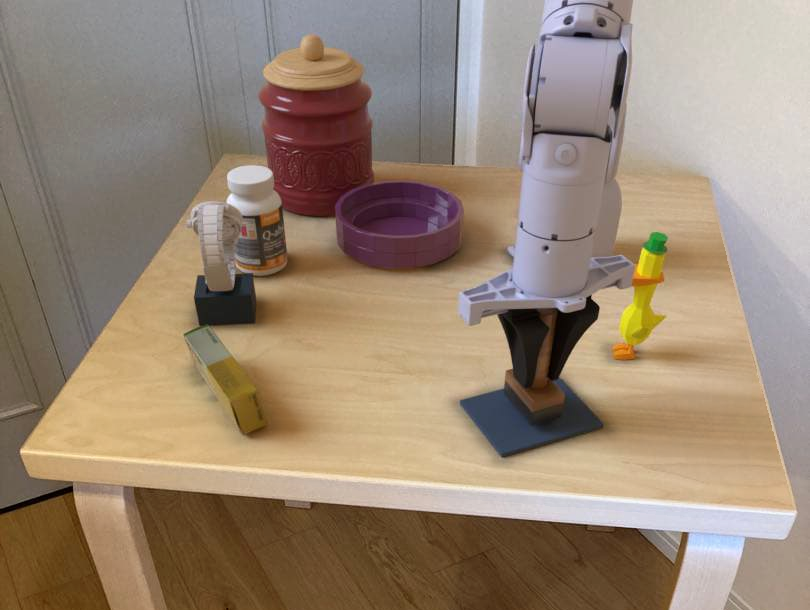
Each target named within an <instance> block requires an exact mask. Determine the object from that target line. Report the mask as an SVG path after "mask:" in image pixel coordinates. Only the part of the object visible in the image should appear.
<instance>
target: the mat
mask: <svg viewBox="0 0 810 610" xmlns="http://www.w3.org/2000/svg"><path fill="white" fill-rule="evenodd" d="M553 382H554V383H555V384H556V385H557V386H558V387H559V388H560V389H561V390H562V391H563V392H564V393H565V398H564V403H563V409H562V415H561V418H557V419H554V420H550V421H547V422H543V423H539V424H536V425H532V426H531V425H530V424H529V423H528V422H527V421H526V420H525V418H524V417H523V416H522V415H521V414H520V412H519V411H518V410H517V409H516V408H515V407H514V405H513V404H512V403H511V402H510V401H509V400H508V398H507V397H506V396H505V395H504V388H501V389H497V390H493V391H489V392H485V393H482V394H478V395H473V396H470V397H467V398H463V399H460V400H459V405H460V406H461V407H462V409H463V410H464V411H465V412H466V414H467V415H468V416H469V417H470V419H471V420H472V421H473V423H474V424H475V425H476V426H477V428H478V429H479V430H480V432H481V433H482V434H483V435H484V437H485V438H486V440H487V441H488V442H489V443H490V444H491V446H492V447H493V448H494V449H495V451H496V452H497V453H498V455H499V456H500V457H501V458H504V457H507V456H511V455H514V454H518V453H521V452H524V451H528V450H531V449H534V448H535V449H536V448H539V447H541V446H545V445H548V444H553V443H555V442H559V441H562V440H566V439H569V438H572V437H575V436H576V437H577V436H580V435H582V434H586V433H589V432H592V431H595V430H599V429H603V428H604V426H605V424H604V422H603V421H602V420H601V419H600V418H599V417H598V416H597V415H596V414H595V413H594V412H593V410H591V409H590V408H589V406H588V405H587V404H586V403H585V402H584V401H583V400H582V399H581V398H580V397H579V396H578V395H577V394H576V392H574V391H573V389H571V387H569V386H568V384H567V383H566V382H565V381H564V380H563V379H562V378H561V377H560V376H559V378H558V380H554V381H553Z"/></svg>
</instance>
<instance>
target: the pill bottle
mask: <svg viewBox="0 0 810 610" xmlns="http://www.w3.org/2000/svg"><path fill="white" fill-rule="evenodd" d="M226 180H227V187H228V189H229V191H230V192H231V193H230V194H229V196H228V197H227V199H226V202H225V203H228V204H230V205H232V206H234V207H235V208H237V209H238V210H239V211H240V212H241V214H242V219H243V221H242V230H241V232H240V235H239V239H238V244H237V245H234V251H235V267H236V268H237V269H238V270H239V271H240V272H241V273H253V276H256V277H257V276H259V277H262V276H269V275H273V274H276V273H278V272H280V271H282V270H283V269H285V267H286V265H287V264H288V249H287V240H286V239H287V237H286V231H285V220H284V219H285V218H284V208H282V202H281V198H280V196H279V195H278V193H277V192H276V191H274V190H273V188H274V177H273V172H272V171H271V170H270V169H269V168H268V167H266V166H263V165H259V164H258V165H257V164H256V165H255V164H250V165H249V164H248V165H241V166H238V167H235V168H233V169H231V170H229V172H228V173H227V175H226Z"/></svg>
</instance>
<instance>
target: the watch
mask: <svg viewBox="0 0 810 610" xmlns="http://www.w3.org/2000/svg"><path fill="white" fill-rule="evenodd" d="M242 221H243V219H242V214H241V212H240V211H239V210H238V209H237V208H235V207H234V206H232V205H230V204H228V203H226V202H224V201H217V200H209V201H204V202H201V203H199V204H197V205H195V206H194V207H193V208H192V210H191V211H190V219H186V228H187V229H192V230H193V232H194V233H195V235H197V236H198V238H199V247H200V252H201V253H200V254H201V259H202V267H201V268H202V272H203V274H197V275H196V282H195V288H194V294H193V301H194V305H195V310H196V315H197V320H198V327H200V326H203V325H206V324H208V325H209V326H224V325H226V326H228V325H246V324H247V325H249V324H256V315H257V295H256V288H255V287H256V286H255V281H254V275H253V273H244V272H241V273H236V263H235V251H234V245H237V244H238V239H239V235H240V232H241V230H242Z"/></svg>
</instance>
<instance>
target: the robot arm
mask: <svg viewBox="0 0 810 610" xmlns="http://www.w3.org/2000/svg"><path fill="white" fill-rule="evenodd" d="M633 4H634V0H544V3H543V9H542V15H541V22H540V29H539V35H538V41H537V42H538V43H537V45H536V43H535V42H532V43H531V46H530V49H529V52H528V55H527V62H526V68H525V75H524V81H523V83H524V84H523V90H522V91H523V92H522V102H521V121H522V131H521V138H520V144H519V145H520V146H519V157H518V169H519V171H520V172H521V174H522V175H521V176H522V177H521V185H520V195H519V206H518V214H517V215H518V217H517V224H516V235H515V245H511V246H508V247H507V251H506V252H507V253H508V254H509V255H510V256H511V257H512V258H513V261H512V262H513V264H512V267H511V268H508V269H507V270H506V271H503V272H501V273H499V274H498V275H495V276H493V277H491V278H489V279H488V280H485V281H484V282H482V283H480V284H478V285H476V286H474V287H473V286H472V287H471V288H468V289H463V290H460V291H458V303H457V305H458V306H457V315H459V317H460V318H461V319H462V320H463V322H464V323H466V325H467V326H468V327H473V326H477V325H479V324H481V323H482V319H484V318H489V317H492V316H493V317H494V316H497V317H498V320H499V322H500V325H501V327H502V330H503V332H504V335H505V339H506V342H507V345H508V349H509V353H510V358H511V359H510V360H511V365H512V369H513V375H514V377H515V378H516V380H517V381H518V382H519V383H520V384H521V385H522V386H523V387H524V388H528V387H532V385H533V382H534V379H535V374H536V368H537V361H538V356H539V353H540V349H541V347H542V344H543V342H544V339H545V337H546V335H547V333H548V332H549V330H550V328H549V327H548V326H547V325H546V324H545V323H544V322H543V321H542V320H541V319H540V311H537V308H557V309H558V313H557V319H556V326H555V332H554V339H553V346H552V352H551V359H550V365H549V372H548V378H549V379H550V380H551V381H554V380H558V378H559V377H560V376H561V374H562V372H563V369H564V368H565V366H566V363H567V362H568V359H569V358H570V355H571V354H572V353H573V350H574V349H575V347H576V345H577V344H578V343H579V341H580V340H581V338H582V337H583V335H584V334H585V333H587V331H588V329H590V328H591V326H592V325H594V323H595V322H597V321H598V319H599V315H600V311H601V310H600V309H601V307H600V305H599V304H598V303H597V302H596V301H595V300H593V299H592V297H593V294H596V293H598V292H599V291H601V290H605V289H609V288H613V287H616V288H617V289H618V290H626V289H629V288H631V287H632V286H631V285H632V280H633V276H634V271H635V267H636V266H635V265H634V264H635V263H633V262H632V261H631V260H630V259H628V258H627V257H625V256H624V255H623V254H617V255H614V252H615V251H614V250H615V245H616V241H617V235H618V230H619V225H620V220H621V214H622V208H623V200H622V192H621V187H620V185H619V183H618V181H617V179H616V177H617V174H618V168H619V165H620V158H621V153H622V149H623V142H624V135H625V127H626V118H627V117H626V115H627V108H628V106H627V105H628V103H627V100H628V94H629V92H628V91H629V87H630V80H631V74H632V67H633V44H632V36H633V23H632V22H631V18H632V13H633V12H632V11H633Z"/></svg>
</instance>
